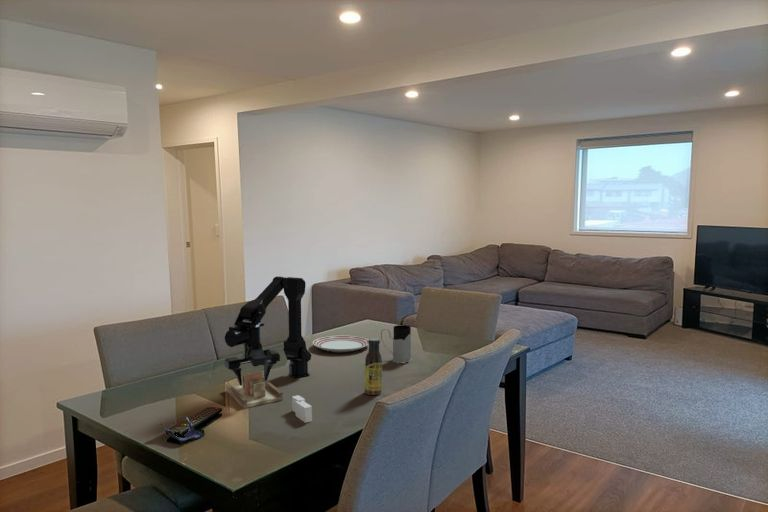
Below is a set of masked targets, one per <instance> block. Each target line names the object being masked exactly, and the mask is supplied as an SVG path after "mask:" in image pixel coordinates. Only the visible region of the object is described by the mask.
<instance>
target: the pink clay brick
mask: <svg viewBox="0 0 768 512" xmlns="http://www.w3.org/2000/svg"><path fill="white" fill-rule="evenodd" d="M243 375H244V383H245V394H246V395H248V394H250V381H252V380H258V379H261V383H263V378H264V377H263V372H262V371H261V370H258V371H253V372H248V373H244V374H243Z"/></svg>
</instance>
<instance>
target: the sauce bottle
mask: <svg viewBox="0 0 768 512" xmlns="http://www.w3.org/2000/svg"><path fill="white" fill-rule="evenodd" d="M368 340H369V341H368V343H369V345H368V352H367V354H366V356H365V364H364V386H363V387H364V393H365V394H366V395H369V396H378V395H380V394H381V393H382V390H383V389H382V384H383V383H382V379H383V359H382V354H381V353H380V343H381V338H378V337H377V338H376V337H373V338H369V339H368Z"/></svg>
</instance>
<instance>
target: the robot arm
mask: <svg viewBox="0 0 768 512" xmlns="http://www.w3.org/2000/svg"><path fill="white" fill-rule="evenodd" d="M282 291H283V294H284V296H285V297H286V299H287V304H288V306H287V307H288V309H287V310H288V311H287V312H288V314H287V315H288V336H287V339H286V340H284V341H283V349H282V351H284V355H285V357H286V358H285V359H286V360H287V361H289V363H288V364H289V365H288V370H289V371H288V375H289V376H290V377H292V378H294V379H298V378H302V377H308V376H310V373H309V372H308V371H309V370H308V369H309V368H308V367H309V366H308V362H310V361H311V359H312V354H311V352H310V351H309V350H308V349H307V343H306V341H305V339H304V337H303V335H302V299H303V297H304V295H305V293H306V281H305V280H304V278H302V277H293V276H287V277H285V276H277V275H276V276H275V277H273V279H272V280H271V282H270V283H269V284H268V285H267V286H266V287H265V288H264V289H263V291H262V292H260V294H259V295H258V296H257V297H256V298H254V299H252V300H250V301H248V302H246V303H245V304H244V305H242V306H241V308H240V310H239V313H238V315H237V317H236V319H235V322H234V323H233V325H234V326H233V325H232V326H231V325H230V326H229V327H228V331H226V333H225V335H224V341H225V344H226V345H227V346H228V347H229V348H234V347H237V346H241V345H243V350H244V351H243V352H244V353H243V358H242V357H241V358H238V357H237V356H230V357H226V358H225V359H224V367H225V368H227V369H228V370H231V371H232V372H233V373H234V375H235V376H236V377H235V378H236V379H237V382H238V384H239V385H240V386H242V368H241V365H245V364H251V365H252V366H253V367H258V366H263V376H264V377H263V378H264V379H265V381H268V378H269V375H270V372H271V369H272V367H273V366H275V364H277V363H278V362H280V361H281V356H280V353H279V352H277V351H275V350H271V349H270V348H269V349H265V350H263V346H262V343H261V327H264V326H265V323H263V322H262V320H263V318H264V317H265V315H266V312H267V311H266V310H267V307H268V306H269V305H270V304H271V303H272V302H273V300H275V299H276V297H277V296H278V295H279V294H280V293H281V292H282Z"/></svg>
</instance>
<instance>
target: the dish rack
mask: <svg viewBox="0 0 768 512" xmlns="http://www.w3.org/2000/svg"><path fill="white" fill-rule="evenodd" d="M241 378H242V386H240V384H239V385H234V386H232V385H231V383H225V392H226V393H227V394H229V396H230V397H232V398H233V400H234V401H235V402H236V403H238V404H239V406H241V407H242V409H247V408H251V407H252V408H253V407H257V406H261V405H265V404H270V403H275V402H279V401H284V395H283V394H284V392H283V391H282V390H280V389H279V388H278V387H276V386H275V385H274V384H272V383H271V382H270V381H269V380H267V381H265V379H264V377H263V383H261V379H258V380H252V381H250V394H248V395H246V394H245V383H244V374H241Z"/></svg>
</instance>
